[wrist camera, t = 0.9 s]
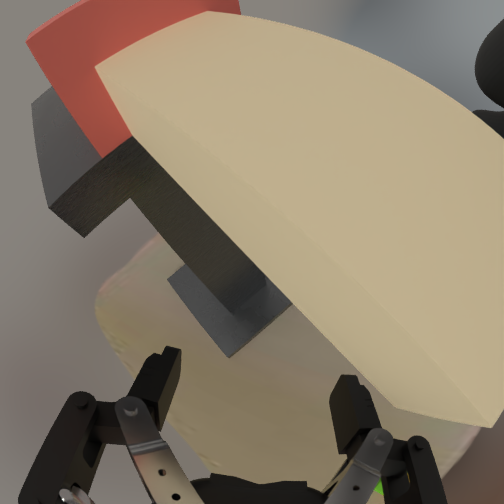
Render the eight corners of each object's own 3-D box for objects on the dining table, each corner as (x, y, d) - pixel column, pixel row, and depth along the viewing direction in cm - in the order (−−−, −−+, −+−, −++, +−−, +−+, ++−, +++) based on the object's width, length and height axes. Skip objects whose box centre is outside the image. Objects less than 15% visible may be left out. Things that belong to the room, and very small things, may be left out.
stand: (243, 223, 43) (178, 10, 14) (309, 288, 37) (346, 45, 8) (170, 282, 40) (9, 120, 11) (229, 357, 35) (13, 274, 6)
